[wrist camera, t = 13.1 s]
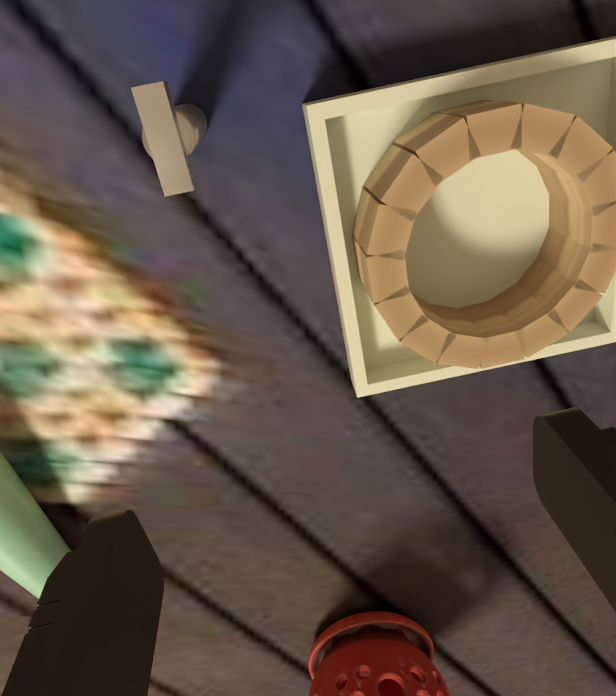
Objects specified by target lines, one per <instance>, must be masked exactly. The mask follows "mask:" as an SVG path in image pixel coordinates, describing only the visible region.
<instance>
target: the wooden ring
mask: <svg viewBox="0 0 616 696" xmlns="http://www.w3.org/2000/svg"><path fill="white" fill-rule="evenodd" d="M574 115H575V114H570V113H566V112H561V111H557V110H552V109H548V108H544V107H539V106H535V105H530V104H526V103H516V102H504V101H493V100H482V101H477V102H473V103H469V104H464V105H460V106H456V107H451V108H447V109H442V110H438V111H437V113H436V112H434V113H432V114H431V115H429V116H428V117H426V118H425V119H424V120H422V121H421V122H419V123H418V124H417V125H415V126H414V127H412V128H411V129H410V130H408V131H407V132H405V133H404V134H403V135H401V136H400V137H398V138H397V139H396V140H394V141H393V142H394V144H395V145H396V146H395V145H392V144H390V145H389V147H388V148H387V150H386V151H385V153H384V154H383V156H382V157H381V159H380V160H379V162H378V163H377V165H376V166H375V168H374V169H373V171H372V172H371V174H370V175H369V177H368V178H367V180H366V181H365V183H364V184H363V185H364V186H365V187H366V188H362V190H361V194H360V198H359V203H358V207H357V212H356V216H355V220H354V225H353V229H352V233H353V235H352V240H353V246H354V252H355V258H356V264H357V270H358V276H359V278H360V280H361V282H362V284H363V286H364V287H365V289H366V291H367V293H368V295H369V297H370V298H371V300H372V302H373V304H374V306H375V307H376V309H377V310H378V312H379V313H380V315H381V316H382V318H383V319H384V321H385V322H386V324H387V325H388V327H389V328H390V329H391V331H392V332H393V334H394V335H395V337H396V338H397V340H399V342H400V343H402V344H404V345H405V346H407V347H409V348H410V349H412V350H414V351H415V352H417V353H419V354H420V355H422V356H424V357H426V358H427V359H429V360H431V361H432V362H434V363H435V362H436V363H437V364H443V365H451V366H458V367H466V368H474V369H479V366H480V368H481V369H483V368H488V367H492V366H497V365H501V364H506V363H510V362H514V361H519V360H523V359H525V356H526V357H527V358H528V357H530V356H532V355H533V354H535V353H537V352H539V351H540V350H542V349H544V348H545V347H547V346H549V345H550V344H552V343H554V342H555V341H557V340H559V339H561V338H562V337H564V336H566V335H567V331H566V329H567V330H568V331H570V332H571V331H572V330H573V329H574V328H575V327H576V326H577V324H578V323H579V322H580V321H581V320H582V319H583V318H584V317H585V316H586V315H587V314H588V312H589V311H590V310H591V309H592V308H593V307H594V306H595V305H596V304H597V303H598V302H599V300H600V299H601V298H602V297H603V296H602V295H601V294H600V293H606V291H607V289H608V286H609V284H610V282H611V280H612V278H613V276H614V273H615V271H616V152H615V150H611V149H612V148H613V147H612V146H611V145H610V144H608V143H607V142H606V141H605V140H604V139H603V138H602V137H601V136H600V135H598V134H597V133H596V132H595V131H594V130H593V129H592V128H591V127H589V126H588V125H587V124H586V123H585V122H584V121H583V120H582V119H581V118H579V117H578V116H574ZM515 149H516V150H517V151H519V152H520V153H521V154H522V155H523V156H525V157H526V158H527V159H528V160H530V161H531V162H532V163H533V164H534V165H536V166H537V168H538V170H539V173H540V175H541V177H542V180H543V182H544V184H545V187H546V189H547V191H548V193H549V228H548V231H547V234H546V236H545V239H544V241H543V244H542V246H541V249H540V251H539V254H538V256H537V259H536V260H535V261H534V262H533V264H532V265H531V266H530V267H529V268H528V270H527V271H526V272H525V273H524V274H523V275H522V277H521V278H520V279H519V280H518V281H517V283H516V284H515V285H513V286H511V287H510V288H508V289H507V290H505V291H503V292H502V293H500V294H499V295H497V296H495V297H494V298H492V299H490V300H489V301H486V302H482V303H478V304H473V305H469V306H464V307H460V308H454V307H448V306H441V305H434V304H429V303H427V302H425V301H424V300H422V299H421V298H419V297H418V296H416V295H414V294H413V293H411V292H410V291H409V286H408V278H407V269H406V261H405V252H406V248H407V245H408V241H409V238H410V234H411V231H412V227H413V223H414V220H415V217H416V215H417V214H418V213H419V211H420V210H421V208H422V207H423V206H424V204H425V203H426V202H427V200H428V199H429V197H430V196H431V195H432V193H433V192H434V190H435V189H436V188H437V186H438V185H439V184H440V182H442V181H443V180H445V179H446V178H448V177H449V176H451V175H452V174H454V173H455V172H457V171H458V170H460V169H461V168H462V167H464V166H465V165H467V164H468V163H470V162H471V161H473V160H474V159H476V158H480V157H484V156H489V155H493V154H497V153H502V152H506V151H510V150H515ZM367 188H368V189H367ZM598 292H600V293H598Z"/></svg>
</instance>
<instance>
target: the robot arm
mask: <svg viewBox="0 0 616 696" xmlns="http://www.w3.org/2000/svg"><path fill="white" fill-rule="evenodd" d="M533 476H534V482H535V486H536V490H537V493H538V495H539V497H540V500H541V502H542V504H543V505H544V507H545V509H546V510H547V511H548V513H549V514H550V516H551V517H552V519H553V520H554V522H555V523H556V525H557V526H558V528H559V529H560V531H561V532H562V534H563V535H564V537H565V538H566V540H567V541H568V542H569V544H570V545H571V547H572V548H573V550H574V551H575V553H576V554H577V556H578V557H579V559H580V560H581V562H582V563H583V565H584V566H585V568H586V569H587V571H588V572H589V573H590V575H591V576H592V578H593V579H594V581H595V582H596V584H597V585H598V587H599V588H600V590H601V591H602V593H603V594H604V596H605V597H606V599H607V600H608V602H609V603H610V604H611V606H612V607H613V609H614V610H615V612H616V428H614V427H611V428H606V429H602V430H600V429H599V428H598V427H597V426H596V425H595V424H594V423H593V422H592V421H591V420H590V419H589V418H588V417H587V416H586V415H585V414H584V413H583V412H582V411H581V410H580V409H578V408H570V409H566V410H561V411H557V412H553V413H549V414H544V415H540V416H537V417H536V418H535V419H534V423H533ZM163 592H164V580H163V572H162V567H161V564H160V561H159V559H158V557H157V555H156V553H155V551H154V549H153V547H152V545H151V543H150V541H149V539H148V537H147V535H146V533H145V531H144V529H143V528H142V526H141V524H140V522H139V520H138V518H137V516H136V514H135V513H134V512H133V511H131V510H126V511H122V512H118V513H114V514H109V515H105V516H101V517H96V518H93V519H91V520H90V521H89V522H88V523H87V526H86V528H85V531H84V534H83V537H82V540H81V543H80V545H79V548H78V550H75V551H71V552H67V553H66V554H65V556H64V557H63V558H62V559H61V561H60V562H59V563H58V565H57V566H56V567H55V569H54V570H53V571H52V573H51V574H50V575H49V576H48V578H47V580H46V583H45V585H44V588H43V590H42V593H41V595H40V598H39V601H38V603H37V610H36V611H34V613H33V616H32V619H31V621H30V624H29V626H28V634H25V637H24V639H23V642H22V644H21V647H20V649H19V652H18V654H17V657H16V660H15V662H14V665H13V667H12V670H11V672H10V675H9V678H8V680H7V683H6V685H5V688H4V690H3V693H2V696H147V694H148V687H149V681H150V675H151V668H152V662H153V656H154V649H155V643H156V637H157V630H158V624H159V618H160V611H161V605H162V599H163Z"/></svg>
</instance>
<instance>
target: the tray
mask: <svg viewBox="0 0 616 696" xmlns="http://www.w3.org/2000/svg"><path fill="white" fill-rule="evenodd" d="M482 100H493V101H504V102H516V103H526V104H530V105H535V106H539V107H544V108H548V109H552V110H557V111H561V112H566V113H570V114H575V115H574V116H578V117H579V118H581V119H582V120H583V121H584V122H585V123H586V124H587V125H588V126H589V127H591V128H592V129H593V130H594V131H595V132H596V133H597V134H598V135H600V136H601V137H602V138H603V139H604V140H605V141H606V142H607V143H608V144H610V145H611V146H612V147H613V148H612V149H611V150H615V152H616V36H613V37H608V38H603V39H599V40H594V41H590V42H585V43H580V44H576V45H571V46H566V47H562V48H557V49H553V50H548V51H543V52H539V53H534V54H529V55H525V56H520V57H515V58H511V59H506V60H502V61H497V62H492V63H488V64H483V65H478V66H474V67H469V68H465V69H460V70H455V71H451V72H446V73H441V74H437V75H432V76H427V77H423V78H418V79H414V80H409V81H404V82H400V83H395V84H390V85H386V86H381V87H377V88H372V89H367V90H363V91H358V92H353V93H349V94H344V95H339V96H335V97H330V98H326V99H321V100H316V101H312V102H307V103H302V107H303V112H304V118H305V124H306V129H307V135H308V140H309V146H310V152H311V157H312V163H313V168H314V174H315V180H316V185H317V191H318V197H319V202H320V208H321V213H322V219H323V225H324V230H325V236H326V241H327V247H328V253H329V258H330V264H331V270H332V275H333V281H334V286H335V292H336V298H337V303H338V309H339V314H340V320H341V326H342V331H343V337H344V342H345V348H346V354H347V359H348V365H349V371H350V376H351V380H352V383H353V386H354V389H355V392H356V395H357V398H358V397H362V396H367V395H371V394H376V393H381V392H385V391H390V390H395V389H399V388H404V387H409V386H413V385H418V384H423V383H427V382H432V381H437V380H441V379H446V378H450V377H455V376H460V375H464V374H469V373H474V372H478V371H483V370H488V369H492V368H497V367H502V366H506V365H511V364H516V363H520V362H525V361H529V360H534V359H539V358H543V357H548V356H553V355H557V354H562V353H567V352H571V351H576V350H581V349H585V348H590V347H595V346H599V345H604V344H608V343H613V342H616V271H615V273H614V276H613V278H612V280H611V282H610V284H609V286H608V289H607V291H606V293H600V292H598V293H600V294H601V295H602V296H603V297H602V298H601V299H600V300H599V302H598V303H597V304H596V305H595V306H594V307H593V308H592V309H591V310H590V311H589V312H588V314H587V315H586V316H585V317H584V318H583V319H582V320H581V321H580V322H579V323H578V324H577V326H576V327H575V328H574V329H573V330H572V331H571V332H570V331H568V330H567V329H566V331H567V335H566V336H564V337H562V338H561V339H559V340H557V341H555V342H554V343H552V344H550V345H549V346H547V347H545V348H544V349H542V350H540V351H539V352H537V353H535V354H533V355H532V356H530V357H528V358H527V357H526V356H525V359H523V360H519V361H514V362H510V363H506V364H501V365H497V366H492V367H488V368H483V369H481V368H480V366H479V369H474V368H466V367H458V366H451V365H443V364H437V363H436V362H435V363H434V362H432V361H431V360H429V359H427V358H426V357H424V356H422V355H420V354H419V353H417V352H415V351H414V350H412V349H410V348H409V347H407V346H405V345H404V344H402V343H400V342H399V340H397V338H396V337H395V335H394V334H393V332H392V331H391V329H390V328H389V327H388V325H387V324H386V322H385V321H384V319H383V318H382V316H381V315H380V313H379V312H378V310H377V309H376V307H375V306H374V304H373V302H372V300H371V298H370V297H369V295H368V293H367V291H366V289H365V287H364V286H363V284H362V282H361V280H360V278H359V276H358V270H357V264H356V258H355V252H354V246H353V240H352V235H353V233H352V229H353V225H354V220H355V216H356V212H357V207H358V203H359V198H360V194H361V190H362V188H366V187H365V186H364V185H363V184H364V183H365V181H366V180H367V178H368V177H369V175H370V174H371V172H372V171H373V169H374V168H375V166H376V165H377V163H378V162H379V160H380V159H381V157H382V156H383V154H384V153H385V151H386V150H387V148H388V147H389V145H390V144H392V145H395V144H394V142H393V141H394V140H396V139H397V138H398V137H400V136H401V135H403V134H404V133H405V132H407V131H408V130H410V129H411V128H412V127H414V126H415V125H417V124H418V123H419V122H421V121H422V120H424V119H425V118H426V117H428V116H429V115H431V114H432V113H434V112H436V113H437V111H438V110H442V109H447V108H451V107H456V106H460V105H464V104H469V103H473V102H477V101H482ZM395 146H396V145H395ZM367 189H368V188H367ZM548 228H549V193H548V191H547V189H546V187H545V184H544V182H543V180H542V177H541V175H540V173H539V170H538V168H537V166H536V165H534V164H533V163H532V162H531V161H530V160H528V159H527V158H526V157H525V156H523V155H522V154H521V153H520V152H519V151H517V150H516V149H515V150H510V151H506V152H502V153H497V154H493V155H489V156H484V157H480V158H476V159H474V160H473V161H471V162H470V163H468V164H467V165H465V166H464V167H462V168H461V169H460V170H458V171H457V172H455V173H454V174H452V175H451V176H449V177H448V178H446V179H445V180H443V181H442V182H440V184H439V185H438V186H437V188H436V189H435V190H434V192H433V193H432V195H431V196H430V197H429V199H428V200H427V202H426V203H425V204H424V206H423V207H422V208H421V210H420V211H419V213H418V214H417V215H416V217H415V220H414V223H413V227H412V231H411V234H410V238H409V241H408V245H407V248H406V252H405V261H406V269H407V278H408V286H409V291H410V292H411V293H413V294H414V295H416V296H418V297H419V298H421V299H422V300H424V301H425V302H427V303H429V304H434V305H441V306H448V307H454V308H460V307H464V306H469V305H473V304H478V303H482V302H486V301H489V300H490V299H492V298H494V297H495V296H497V295H499V294H500V293H502V292H503V291H505V290H507V289H508V288H510V287H511V286H513V285H515V284H516V283H517V281H518V280H519V279H520V278H521V277H522V275H523V274H524V273H525V272H526V271H527V270H528V268H529V267H530V266H531V265H532V264H533V262H534V261H535V260H536V259H537V256H538V254H539V251H540V249H541V246H542V244H543V241H544V239H545V236H546V234H547V231H548Z"/></svg>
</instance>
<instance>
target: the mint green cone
mask: <svg viewBox="0 0 616 696" xmlns="http://www.w3.org/2000/svg"><path fill="white" fill-rule="evenodd" d="M67 552H71V550H70V549H69V547H68V546H67V544H66V543H65V542H64V540H63V539H62V537H61V536H60V534H59V533H58V532H57V530H56V529H55V527H54V526H53V525H52V523H51V522H50V520H49V519H48V518H47V516H46V515H45V513H44V512H43V511H42V509H41V508H40V506H39V505H38V504H37V502H36V501H35V499H34V498H33V497H32V495H31V494H30V492H29V491H28V490H27V488H26V487H25V485H24V484H23V483H22V481H21V480H20V478H19V477H18V475H17V474H16V472H15V471H14V470H13V468H12V467H11V465H10V464H9V463H8V461H7V460H6V458H5V457H4V456H3V454H2V453H1V451H0V570H1V571H3V572H4V573H5V574H7V575H8V576H9V577H11V578H12V579H13V580H15V581H16V582H17V583H19V584H20V585H21V586H23V587H24V588H25V589H27V590H28V591H29V592H31V593H32V594H33V595H35V596H36V597H37V598H40V595H41V593H42V590H43V588H44V585H45V583H46V580H47V578H48V576H49V575H50V574H51V573H52V571H53V570H54V569H55V567H56V566H57V565H58V563H59V562H60V561H61V559H62V558H63V557H64V556H65V554H66V553H67Z"/></svg>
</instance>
